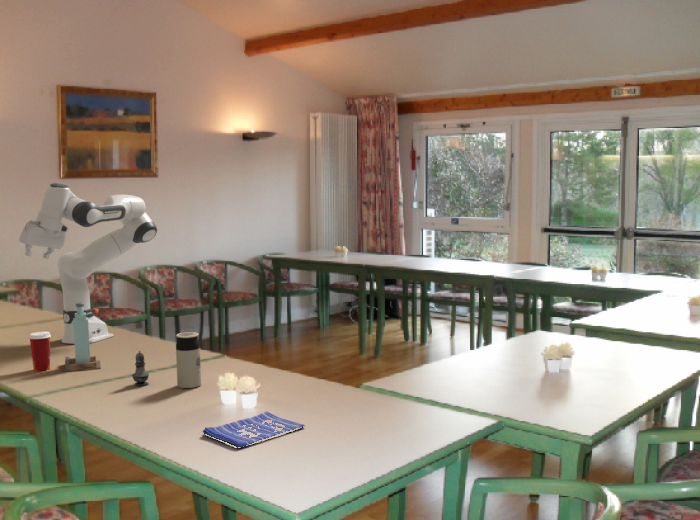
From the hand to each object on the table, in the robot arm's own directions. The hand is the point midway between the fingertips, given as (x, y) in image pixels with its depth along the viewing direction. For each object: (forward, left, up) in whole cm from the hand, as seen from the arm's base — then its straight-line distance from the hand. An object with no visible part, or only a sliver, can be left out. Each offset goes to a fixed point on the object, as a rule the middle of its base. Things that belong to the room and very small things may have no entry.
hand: (36, 256), depth 293 cm
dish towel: (+26, +128, -42) cm, 137 cm away
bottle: (0, +24, -41) cm, 47 cm away
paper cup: (+11, +14, -41) cm, 45 cm away
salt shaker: (+7, +63, -41) cm, 75 cm away
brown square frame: (0, +24, -41) cm, 47 cm away
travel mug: (0, +79, -41) cm, 89 cm away
